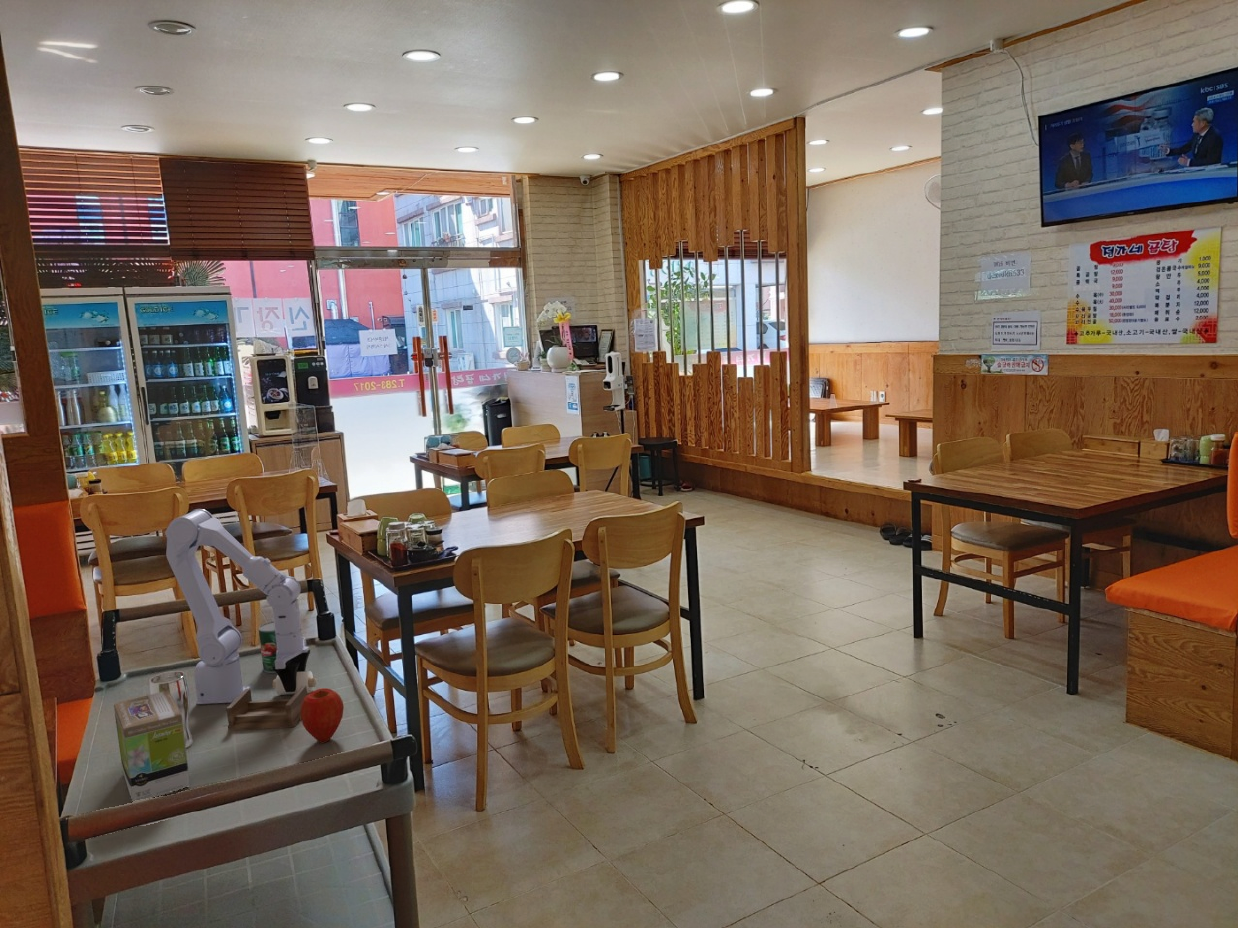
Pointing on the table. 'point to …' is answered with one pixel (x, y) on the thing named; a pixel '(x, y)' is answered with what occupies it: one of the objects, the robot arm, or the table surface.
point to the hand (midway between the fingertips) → (294, 686)
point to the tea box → (152, 745)
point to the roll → (301, 680)
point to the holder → (264, 711)
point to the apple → (322, 713)
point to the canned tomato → (268, 646)
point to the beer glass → (175, 695)
